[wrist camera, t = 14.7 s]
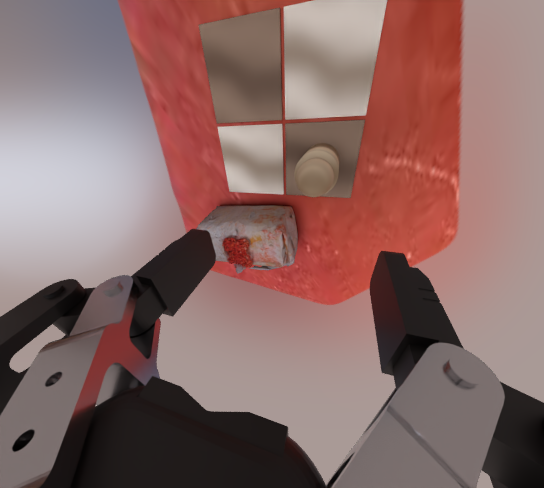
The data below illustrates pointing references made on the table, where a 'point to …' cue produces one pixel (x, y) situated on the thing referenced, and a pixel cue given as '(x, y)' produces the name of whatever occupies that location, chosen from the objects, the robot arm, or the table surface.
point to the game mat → (292, 88)
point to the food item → (253, 235)
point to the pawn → (317, 170)
